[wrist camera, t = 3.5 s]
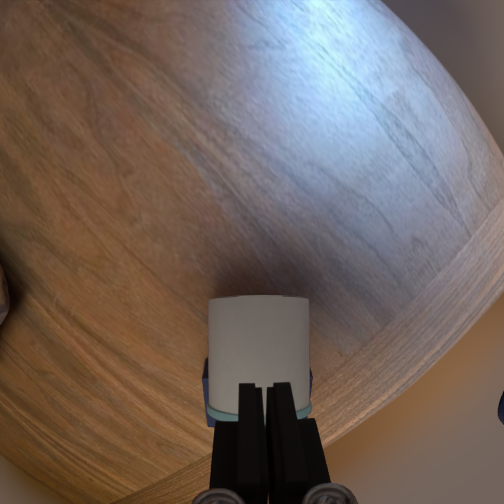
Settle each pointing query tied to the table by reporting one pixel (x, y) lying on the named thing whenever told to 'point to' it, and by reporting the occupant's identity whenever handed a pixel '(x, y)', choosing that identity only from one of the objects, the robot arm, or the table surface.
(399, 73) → the table surface
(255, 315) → the beige cylinder teal cap
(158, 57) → the table surface
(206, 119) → the table surface
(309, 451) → the robot arm
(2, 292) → the potted plant
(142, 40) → the table surface
